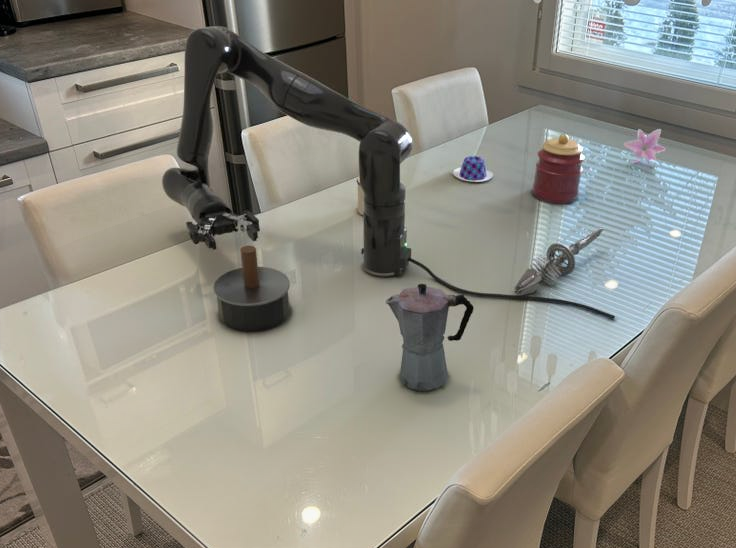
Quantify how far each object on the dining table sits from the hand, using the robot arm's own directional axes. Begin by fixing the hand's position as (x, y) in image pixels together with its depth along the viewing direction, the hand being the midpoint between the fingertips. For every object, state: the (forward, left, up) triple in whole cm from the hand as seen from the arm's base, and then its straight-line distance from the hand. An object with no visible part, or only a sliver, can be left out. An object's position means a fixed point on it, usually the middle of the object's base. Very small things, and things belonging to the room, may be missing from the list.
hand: (235, 241), depth 149 cm
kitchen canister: (-61, -77, -13) cm, 99 cm away
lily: (-86, -115, -13) cm, 144 cm away
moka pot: (-45, +17, -13) cm, 49 cm away
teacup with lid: (-16, -51, -13) cm, 55 cm away
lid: (-6, +6, -7) cm, 10 cm away
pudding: (-36, -83, -13) cm, 92 cm away
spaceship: (-66, -31, -13) cm, 74 cm away
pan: (-6, +6, -13) cm, 15 cm away
